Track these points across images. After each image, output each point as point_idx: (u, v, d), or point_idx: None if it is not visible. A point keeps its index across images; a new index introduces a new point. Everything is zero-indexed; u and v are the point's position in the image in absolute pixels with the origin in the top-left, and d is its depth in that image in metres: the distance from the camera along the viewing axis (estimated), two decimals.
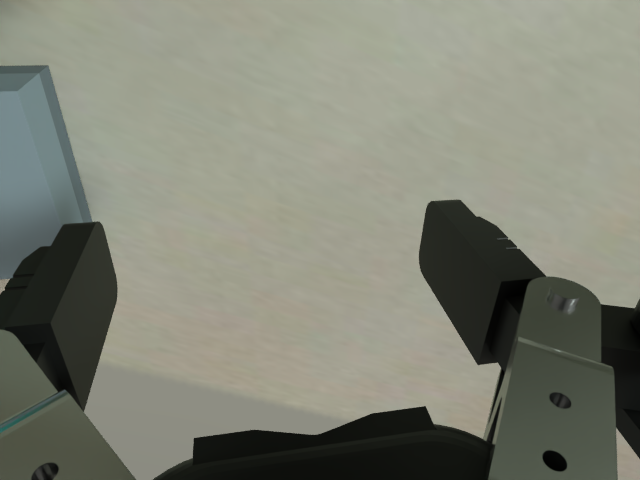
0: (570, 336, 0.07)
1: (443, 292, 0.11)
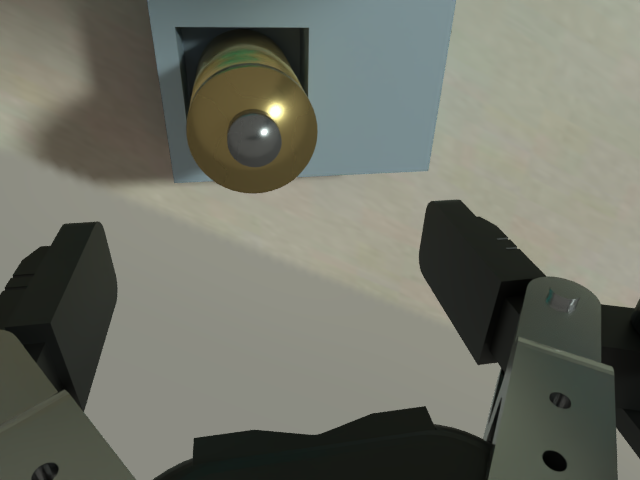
0: (569, 336, 0.07)
1: (443, 292, 0.11)
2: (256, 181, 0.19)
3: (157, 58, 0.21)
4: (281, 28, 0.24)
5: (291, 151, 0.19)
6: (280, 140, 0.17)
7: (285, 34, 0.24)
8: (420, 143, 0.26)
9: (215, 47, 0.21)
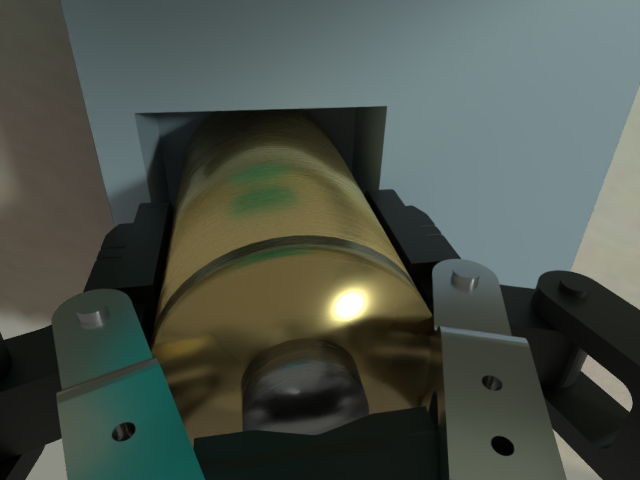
0: (479, 314, 0.08)
1: None
2: None
3: (103, 168, 0.11)
4: None
5: (379, 400, 0.09)
6: (366, 412, 0.07)
7: None
8: None
9: (213, 145, 0.11)
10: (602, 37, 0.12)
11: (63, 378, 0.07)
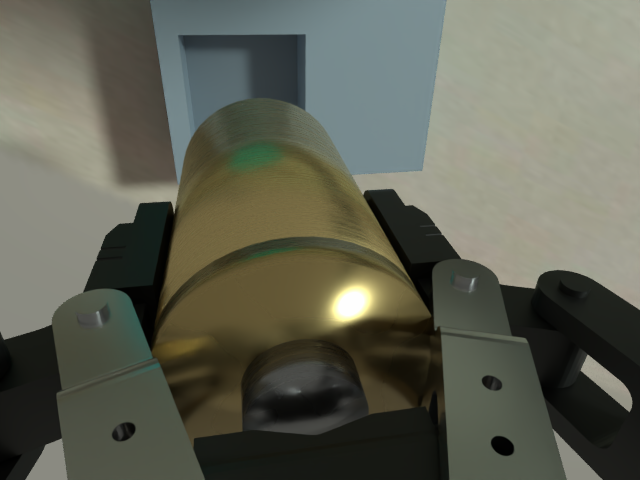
0: (479, 314, 0.08)
1: None
2: None
3: (161, 65, 0.22)
4: (279, 35, 0.25)
5: (378, 400, 0.09)
6: (366, 413, 0.07)
7: (283, 41, 0.26)
8: (414, 144, 0.27)
9: (214, 146, 0.12)
10: None
11: (63, 378, 0.07)
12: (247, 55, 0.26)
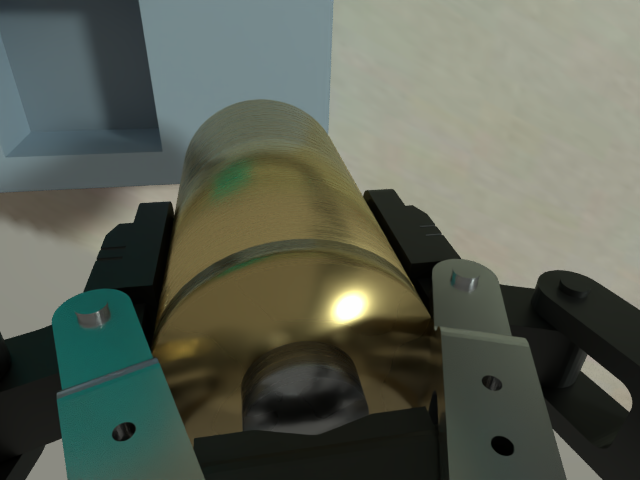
0: (480, 314, 0.08)
1: None
2: None
3: None
4: None
5: (378, 402, 0.09)
6: (366, 415, 0.07)
7: (132, 3, 0.19)
8: None
9: (214, 148, 0.12)
10: None
11: (63, 378, 0.07)
12: (84, 21, 0.19)
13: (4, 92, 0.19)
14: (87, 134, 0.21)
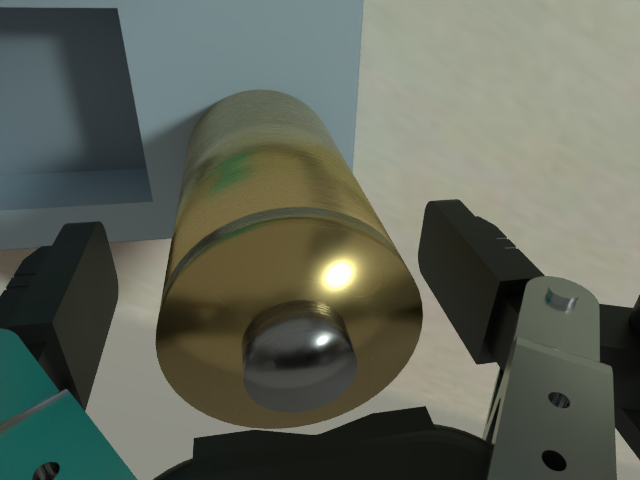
0: (568, 336, 0.07)
1: (442, 292, 0.11)
2: None
3: None
4: (106, 13, 0.16)
5: (367, 361, 0.09)
6: (355, 367, 0.08)
7: (115, 23, 0.16)
8: None
9: (216, 132, 0.12)
10: None
11: None
12: (57, 45, 0.16)
13: None
14: (64, 178, 0.18)
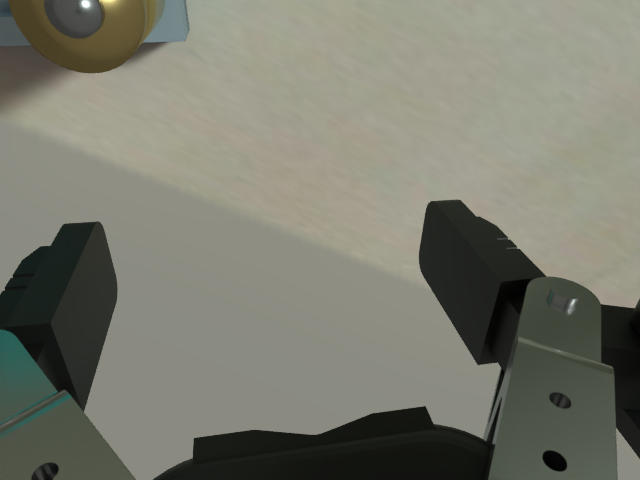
0: (570, 336, 0.07)
1: (443, 292, 0.11)
2: (91, 60, 0.20)
3: None
4: None
5: (120, 27, 0.19)
6: (98, 9, 0.18)
7: None
8: (168, 10, 0.27)
9: None
10: None
11: None
12: None
13: None
14: (1, 12, 0.28)
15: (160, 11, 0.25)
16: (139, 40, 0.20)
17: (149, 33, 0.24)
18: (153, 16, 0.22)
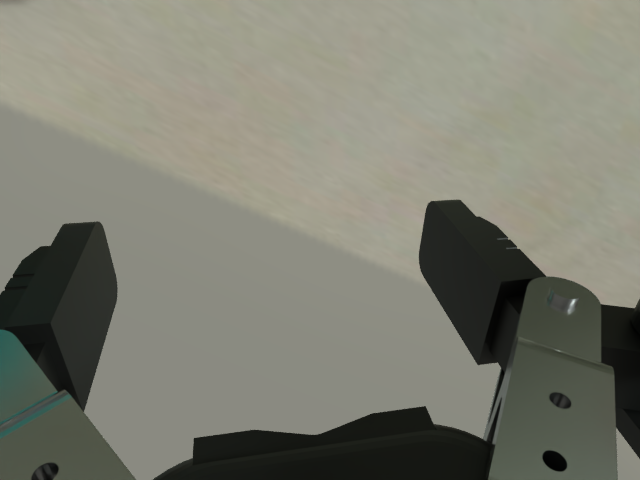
0: (569, 336, 0.07)
1: (443, 292, 0.11)
2: None
3: None
4: None
5: None
6: None
7: None
8: None
9: None
10: None
11: None
12: None
13: None
14: None
15: None
16: None
17: None
18: None
